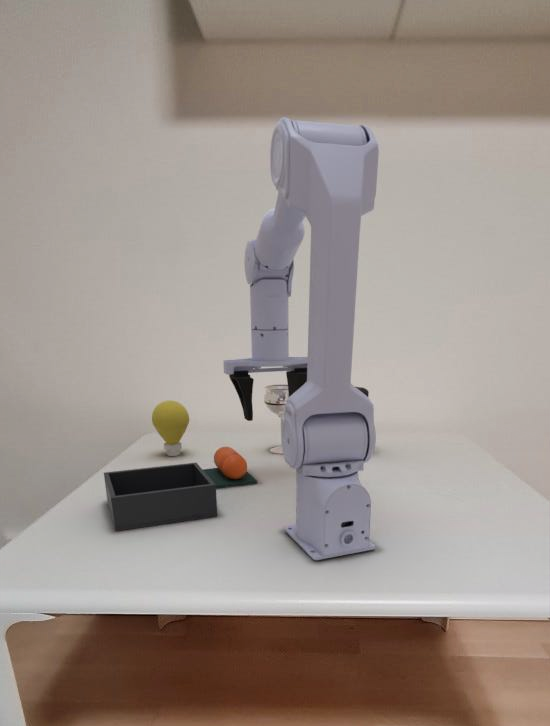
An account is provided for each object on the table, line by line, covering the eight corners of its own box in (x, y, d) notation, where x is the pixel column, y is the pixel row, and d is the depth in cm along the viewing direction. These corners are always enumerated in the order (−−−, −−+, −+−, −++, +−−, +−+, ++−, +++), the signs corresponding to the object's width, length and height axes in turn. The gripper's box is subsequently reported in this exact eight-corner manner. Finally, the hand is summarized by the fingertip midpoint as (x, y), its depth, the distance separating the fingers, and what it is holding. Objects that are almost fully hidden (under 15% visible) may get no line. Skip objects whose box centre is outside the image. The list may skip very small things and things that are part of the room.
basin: (217, 516, 73) (215, 484, 72) (115, 531, 68) (110, 497, 67) (198, 490, 83) (196, 462, 81) (107, 502, 78) (103, 472, 76)
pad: (257, 483, 86) (257, 480, 86) (194, 491, 82) (194, 488, 82) (240, 467, 94) (240, 465, 94) (182, 474, 90) (182, 471, 90)
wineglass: (294, 456, 101) (294, 390, 97) (260, 453, 103) (258, 389, 98) (304, 447, 107) (304, 385, 103) (271, 444, 109) (270, 383, 104)
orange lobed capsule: (234, 487, 85) (255, 472, 85) (220, 468, 83) (241, 452, 83) (219, 471, 93) (238, 457, 93) (206, 453, 91) (225, 439, 91)
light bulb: (164, 448, 105) (160, 397, 102) (197, 450, 104) (193, 398, 101) (148, 458, 99) (143, 403, 96) (183, 460, 98) (179, 404, 94)
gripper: (303, 327, 89) (302, 409, 94) (216, 328, 84) (220, 416, 88) (321, 329, 83) (319, 417, 88) (229, 331, 77) (233, 425, 82)
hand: (271, 417), depth 88 cm, fingers open, 7 cm apart
